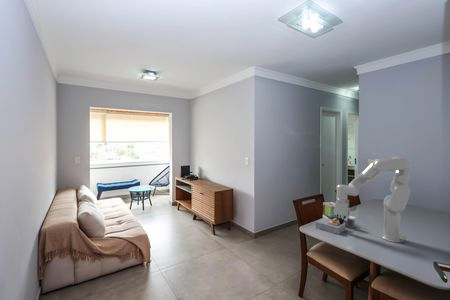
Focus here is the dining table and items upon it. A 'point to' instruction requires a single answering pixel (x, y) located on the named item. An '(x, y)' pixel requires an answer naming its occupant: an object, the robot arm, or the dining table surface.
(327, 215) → the tea box
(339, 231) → the socket block
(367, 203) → the dining table surface
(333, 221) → the shutter
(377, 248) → the dining table surface
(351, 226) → the plug
